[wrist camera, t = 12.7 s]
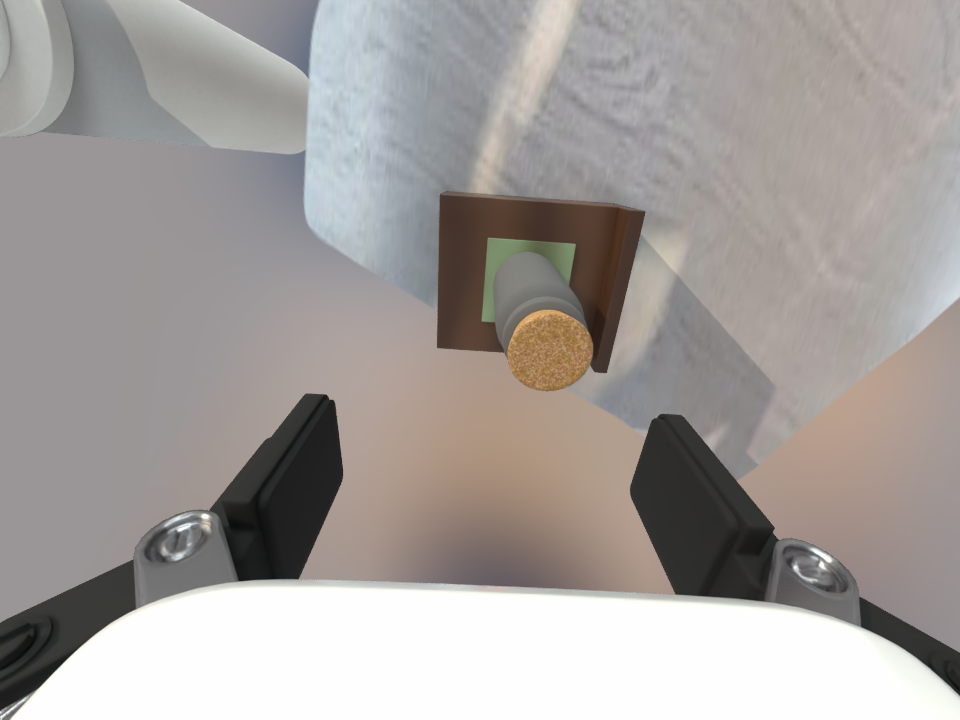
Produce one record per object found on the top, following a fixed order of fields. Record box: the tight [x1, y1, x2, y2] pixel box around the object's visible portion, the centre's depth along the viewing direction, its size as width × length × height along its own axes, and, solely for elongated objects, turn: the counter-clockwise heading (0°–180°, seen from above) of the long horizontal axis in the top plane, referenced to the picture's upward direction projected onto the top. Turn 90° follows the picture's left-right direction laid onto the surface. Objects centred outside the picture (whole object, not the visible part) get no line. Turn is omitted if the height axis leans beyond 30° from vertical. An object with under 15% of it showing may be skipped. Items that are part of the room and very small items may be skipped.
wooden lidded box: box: [437, 191, 645, 373], centre depth 36 cm, size 16×14×8 cm
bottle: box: [493, 252, 593, 391], centre depth 28 cm, size 6×6×15 cm
